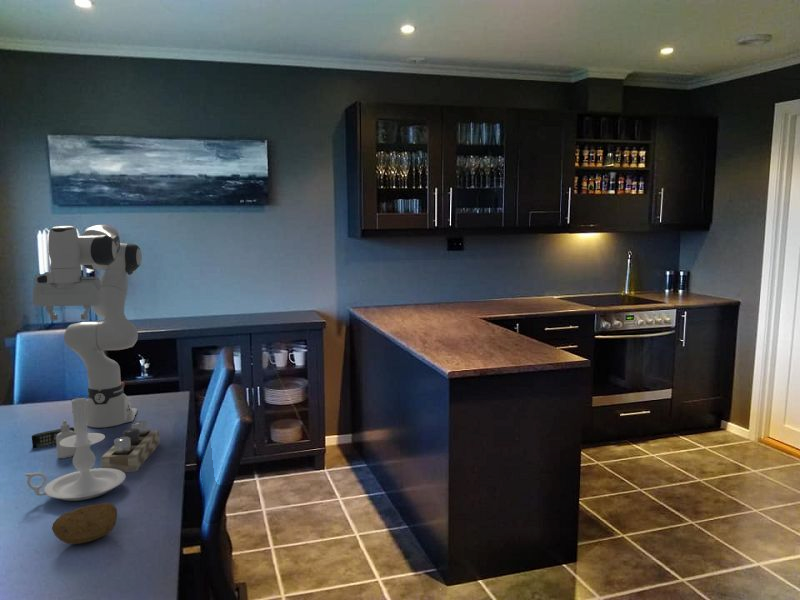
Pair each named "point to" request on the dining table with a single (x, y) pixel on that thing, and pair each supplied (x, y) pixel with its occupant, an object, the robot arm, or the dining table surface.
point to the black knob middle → (132, 436)
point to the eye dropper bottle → (66, 432)
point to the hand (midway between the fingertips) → (69, 319)
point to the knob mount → (132, 454)
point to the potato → (85, 523)
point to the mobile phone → (46, 438)
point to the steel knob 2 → (140, 427)
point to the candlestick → (80, 464)
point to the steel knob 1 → (122, 446)
